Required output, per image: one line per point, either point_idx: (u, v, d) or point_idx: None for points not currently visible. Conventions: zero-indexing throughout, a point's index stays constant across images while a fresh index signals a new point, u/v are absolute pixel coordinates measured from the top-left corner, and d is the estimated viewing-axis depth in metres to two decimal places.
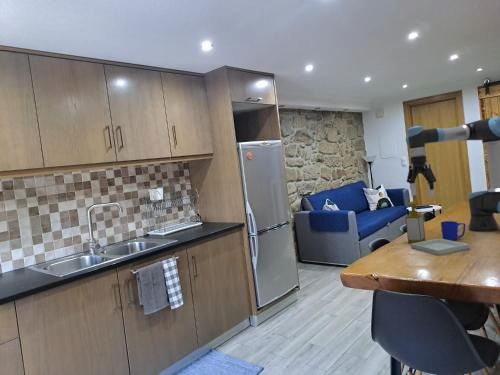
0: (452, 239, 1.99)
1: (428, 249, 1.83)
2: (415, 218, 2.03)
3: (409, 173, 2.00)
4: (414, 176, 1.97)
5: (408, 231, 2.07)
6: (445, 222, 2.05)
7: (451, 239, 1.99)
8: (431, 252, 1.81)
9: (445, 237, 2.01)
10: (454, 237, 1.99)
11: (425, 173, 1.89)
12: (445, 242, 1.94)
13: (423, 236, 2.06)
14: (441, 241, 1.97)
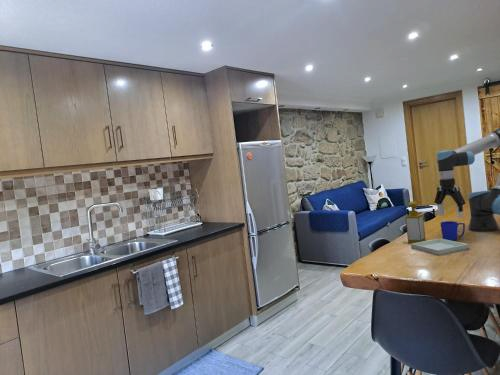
0: (452, 239, 1.99)
1: (428, 249, 1.83)
2: (415, 218, 2.03)
3: (437, 194, 2.08)
4: (442, 197, 2.05)
5: (408, 231, 2.07)
6: (445, 222, 2.05)
7: (451, 239, 1.99)
8: (431, 252, 1.81)
9: (445, 237, 2.01)
10: (454, 237, 1.99)
11: (454, 195, 1.96)
12: (445, 242, 1.94)
13: (423, 236, 2.06)
14: (441, 241, 1.97)
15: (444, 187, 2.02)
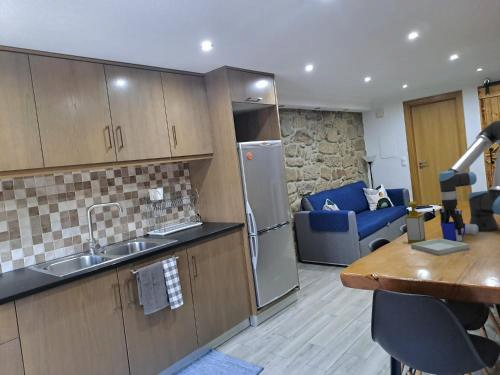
0: (453, 239, 1.99)
1: (428, 249, 1.83)
2: (415, 218, 2.03)
3: (441, 216, 2.07)
4: (447, 219, 2.04)
5: (408, 231, 2.07)
6: None
7: (452, 239, 1.99)
8: (431, 252, 1.81)
9: (446, 237, 2.00)
10: (455, 237, 1.98)
11: (455, 218, 1.98)
12: (445, 242, 1.94)
13: (423, 236, 2.06)
14: (441, 241, 1.97)
15: (446, 206, 2.03)
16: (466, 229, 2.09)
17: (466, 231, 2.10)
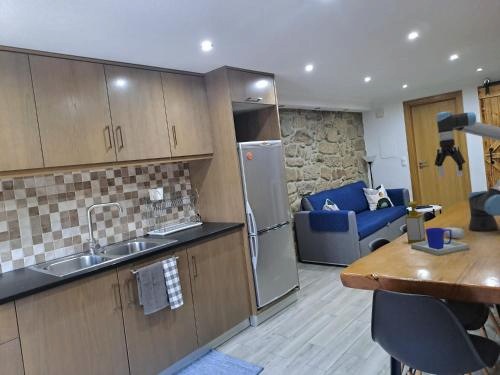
0: (438, 247, 1.85)
1: (428, 249, 1.83)
2: (415, 218, 2.03)
3: (437, 156, 2.12)
4: (442, 159, 2.10)
5: (408, 231, 2.07)
6: (430, 229, 1.91)
7: (437, 247, 1.85)
8: (431, 252, 1.81)
9: (431, 245, 1.87)
10: (440, 245, 1.84)
11: (454, 155, 2.01)
12: (445, 242, 1.94)
13: (423, 236, 2.06)
14: None
15: (444, 148, 2.06)
16: None
17: None
